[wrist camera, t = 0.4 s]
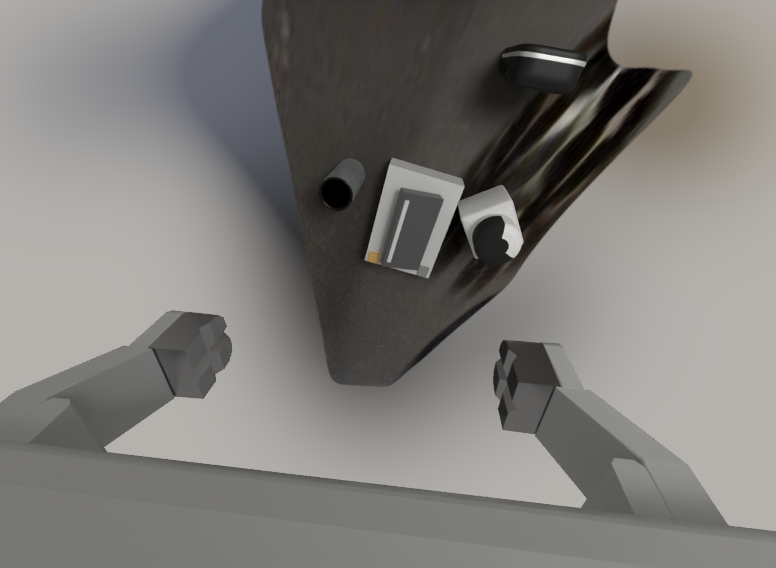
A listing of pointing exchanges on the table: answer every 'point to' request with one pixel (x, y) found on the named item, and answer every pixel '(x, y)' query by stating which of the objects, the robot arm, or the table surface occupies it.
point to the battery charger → (542, 68)
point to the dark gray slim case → (410, 228)
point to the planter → (342, 185)
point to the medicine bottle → (491, 225)
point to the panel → (421, 181)
